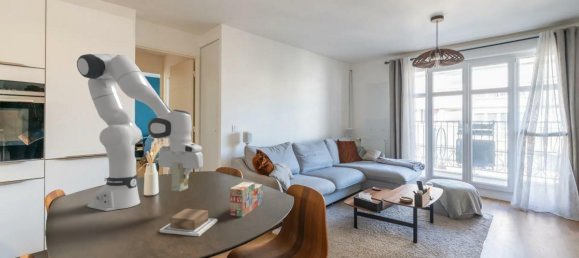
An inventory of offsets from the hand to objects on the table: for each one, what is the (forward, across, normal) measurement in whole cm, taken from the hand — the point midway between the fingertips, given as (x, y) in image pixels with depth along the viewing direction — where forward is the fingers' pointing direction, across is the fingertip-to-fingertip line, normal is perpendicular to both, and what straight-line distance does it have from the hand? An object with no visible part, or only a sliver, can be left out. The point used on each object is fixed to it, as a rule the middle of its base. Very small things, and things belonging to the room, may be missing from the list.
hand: (180, 177), depth 115 cm
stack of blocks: (+16, +27, +13) cm, 34 cm away
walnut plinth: (+16, +13, -12) cm, 23 cm away
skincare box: (+6, 0, 0) cm, 6 cm away
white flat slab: (+16, +13, -12) cm, 23 cm away
